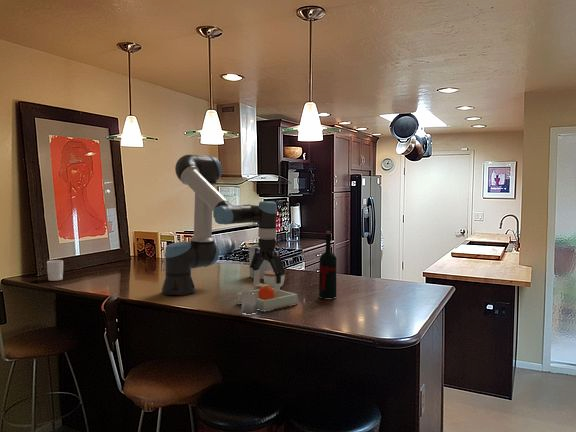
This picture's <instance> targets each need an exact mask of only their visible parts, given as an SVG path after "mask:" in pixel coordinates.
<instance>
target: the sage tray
mask: <svg viewBox="0 0 576 432" xmlns="http://www.w3.org/2000/svg"><path fill="white" fill-rule="evenodd" d="M272 289H273V290H274V288H272ZM259 290H260V289H258V290H254V289H253V290H248V291H247V292H256V293H257V309H260V310H268V309H272V308H278V307H282V306H286V305H291V304H296V303H297V304H298V294H297V293H294V292H291V291H285V290H282V289H280V291H276V292H275V291H274V293H275V295H274V298H273V299H268V300H262V299H260V298H259V296H258V292H259ZM243 292H244V291H243ZM243 292H237V303H238V302H239V303H242V293H243Z"/></svg>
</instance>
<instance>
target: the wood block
mask: <svg viewBox="0 0 576 432" xmlns="http://www.w3.org/2000/svg"><path fill="white" fill-rule="evenodd" d="M263 286H269V285H268V284H265V283H261V282H260V285H254V284H253V290H258V289H261V288H262V287H263Z"/></svg>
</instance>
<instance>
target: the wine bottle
mask: <svg viewBox="0 0 576 432" xmlns="http://www.w3.org/2000/svg"><path fill="white" fill-rule="evenodd" d="M331 235H332V234H331V230H325V252H323V253H322V254H321V255H320V257H319V265H318V266H319V269H318V270H319V272H318V273H319V276H318V277H319V279H318V281H319V283H318V297H319V296H320V297H322V298H334V297H336V298H337V257H336V255H335V253H333V252H331V250H332V249H331V248H332V247H331V246H332V244H331V241H332V240H331V237H332V236H331Z"/></svg>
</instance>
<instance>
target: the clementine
mask: <svg viewBox="0 0 576 432" xmlns="http://www.w3.org/2000/svg"><path fill="white" fill-rule="evenodd" d="M274 295H275V293H274V290H273V289H272V288H271V287H270V286H263V287H262V288H261V289H260V290H259V292H258V296H259V298H260V299H262V300H268V299H273V298H274Z"/></svg>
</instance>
